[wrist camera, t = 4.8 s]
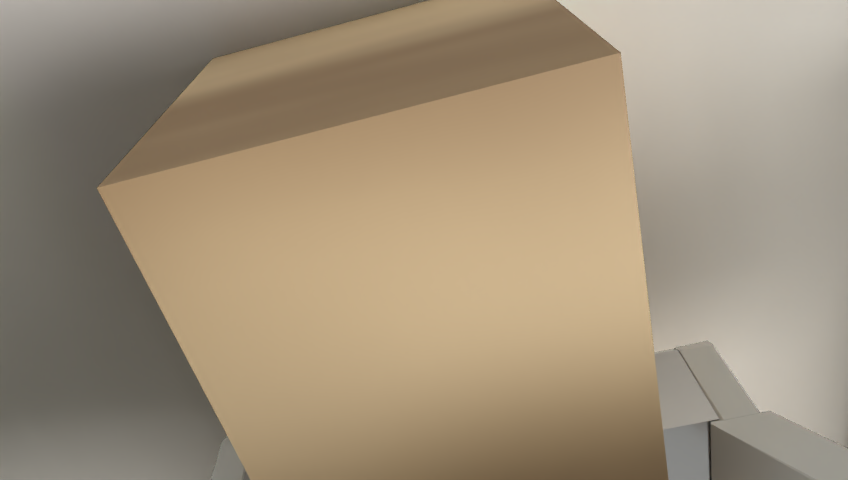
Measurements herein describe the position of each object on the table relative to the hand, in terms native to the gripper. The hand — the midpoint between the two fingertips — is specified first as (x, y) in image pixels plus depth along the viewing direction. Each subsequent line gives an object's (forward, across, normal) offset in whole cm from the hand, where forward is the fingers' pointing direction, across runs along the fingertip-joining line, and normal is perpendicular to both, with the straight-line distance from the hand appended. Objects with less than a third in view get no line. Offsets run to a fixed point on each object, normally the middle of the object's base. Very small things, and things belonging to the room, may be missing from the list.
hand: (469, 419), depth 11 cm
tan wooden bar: (+2, 0, 0) cm, 2 cm away
